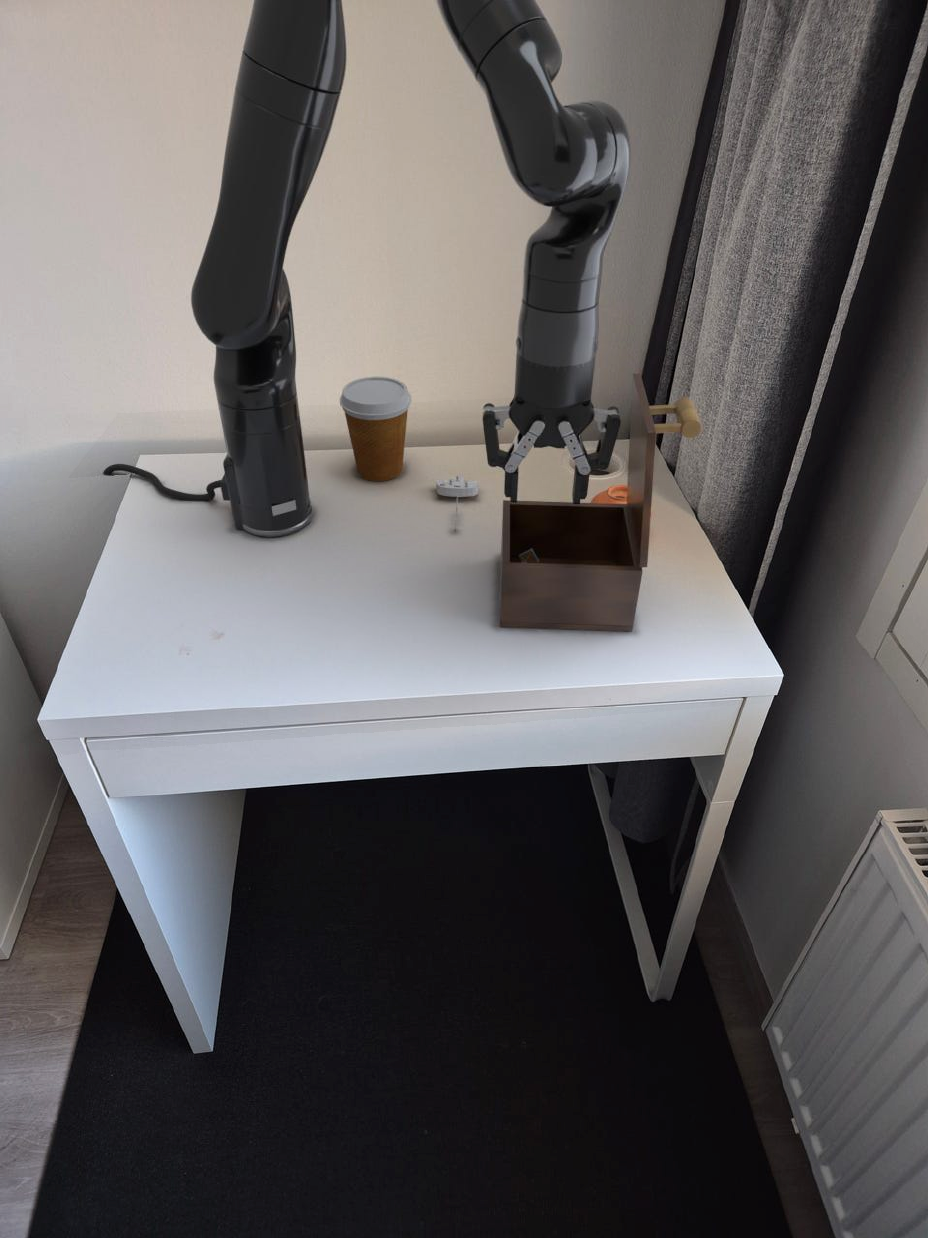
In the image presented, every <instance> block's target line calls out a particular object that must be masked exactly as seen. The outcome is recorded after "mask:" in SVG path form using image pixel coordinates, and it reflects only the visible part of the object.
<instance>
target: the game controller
mask: <svg viewBox="0 0 928 1238" xmlns="http://www.w3.org/2000/svg"><path fill="white" fill-rule="evenodd" d="M479 488H480V481H478V480H471V481H465V480H464V477H463V476H460V475H456V476H455V477H453V478H452V479H449V481H446V480H445V479H437V480H436V493H437V495H439V496H443V497H453V498H456V504H455V505H456V506H455V519H454V533H456V531H457V518H458V503H459V502H458V501H459V498H467V497H475V496H477V495H478V493H479V491H480V489H479Z"/></svg>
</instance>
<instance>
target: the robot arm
mask: <svg viewBox="0 0 928 1238" xmlns="http://www.w3.org/2000/svg"><path fill="white" fill-rule="evenodd" d="M435 2H436V5H437V8H438V11H439V14H440V17H441V19H442V22H443V24H444V26H445V28H446V31H447V32H448V35H449V37H450V38H451V41H452V42H453V45H454V46H455V47H456V49H457V51H458V53H459V54H460V56H461V57H462V59H463V61H464V63H465V64H466V66H467V68H468V69H469V71H470V73H471V74H472V76H473V78H474V79H475V81H476V82H477V83H476V84H478V86H479V88H480V89H481V91H482V93H484V95H485V97H486V101H487V104H488V109H489V112H490V117H491V120H492V125H493V127H494V130H495V132H496V136H497V139H498V142H499V147H500V149H501V152H502V155H503V159H504V162H505V164H506V166H507V169H508V172H509V174H510V176H511V178H512V180H513V181H514V183H515V184H516V186H517V187H518V188H519V189H520V191H522V193H523V194H524V195H525V196H526V197H527V198H529V199H530V200H531V201H533V202H534V203H536V204H537V205H540V206H542V207H548V208H550V212H549V214H548V217H547V218H546V219H545V221H544V222H543V223H542V224H541V226H539V227H538V228H537V229H535V231H533V232H532V233H531V234H530V236H529V237H528V239H527V241H526V243H525V248H524V254H523V255H524V256H523V271H522V289H521V290H522V291H521V304H520V308H519V309H520V310H519V315H518V322H517V334H516V335H517V337H516V340H515V344H516V346H515V347H516V354H515V372H514V373H515V375H514V395H513V398H512V400H511V401H510V403H509V405H501V406H495V405H494V404H493V403H491V402H487V403H485V404H484V405H483V407H482V425H483V434H484V444H485V452H486V460H487V464H488V466H489V467H491V468H496V467H499V468H501V469H502V470H503V471H504V485H503V487H504V488H503V490H504V491H503V493H504V496H505V498H510V502H512V503H517V501H518V491H519V490H518V489H519V473H520V472H519V466H520V465H521V463H522V461H523V460H524V459H525V458H526V457H527V456H528V454H529V453H530V451H531V450H532V448H533V449H542V448H549V447H551V448H555V449H563V450H564V449H566V448H567V450H568V452H569V454H570V457H571V458H572V460H573V461H574V472H573V482H572V494H571V497H572V502H573V504H580V503H581V500H586V498H587V496H588V493H589V492H588V491H589V482H590V475H591V473H592V472H594V471H596V470H600V471H605V470H607V469H608V468H609V466H610V463H611V459H612V457H613V452H614V449H615V445H616V442H617V437H618V435H619V431H620V427H621V424H622V421H621V416H620V411H619V408H618V407H617V406H615V405H612V406H608V408H606V409H604V408H598V407H597V408H596V407H595V406H594V404H593V403H592V394H593V383H594V375H595V365H596V357H597V351H598V348H599V330H600V329H599V328H600V327H599V326H600V315H599V306H600V305H599V302H600V292H601V284H602V275H603V266H604V265H603V264H604V255H605V251H606V247H607V245H608V242H609V239H610V237H611V234H612V232H613V228H614V225H615V222H616V219H617V216H618V212H619V209H620V206H621V203H622V200H623V196H624V193H625V190H626V186H627V182H628V179H629V178H628V177H629V173H630V166H631V156H632V155H631V140H630V138H631V137H630V133H629V130H628V126H627V123H626V121H625V119H624V117H623V115H622V113H620V111H619V110H618V109H617V108H616V107H615V106H613V105H612V104H611V103H609V102H606V101H602V100H599V99H596V100H595V99H591V100H585V101H580V102H576V103H571V104H567V105H563V104H562V103H561V102H560V100H559V99H558V96H557V95H556V92H555V90H554V87H553V84H552V83H553V82H554V81H555V79H556V77H557V76H558V74H559V73H560V70H561V67H562V63H563V52H562V48H561V45H560V42H559V40H558V38H557V36H556V33H555V31H554V30H553V28H552V26H551V24H550V23H549V21H548V19H547V17H546V16H545V14H544V13H543V11H542V9H541V7H540V6H539V4H538V2H537V0H435ZM246 30H247V31H246V35H245V39H244V42H243V47H242V52H241V56H240V60H239V66H238V72H237V76H236V81H235V87H234V92H233V98H232V105H231V111H230V117H229V123H228V128H227V129H228V130H227V137H226V143H225V150H224V157H223V164H222V165H223V166H222V172H221V182H220V189H219V196H218V201H217V206H216V210H215V215H214V218H213V221H212V225H211V229H210V233H209V235H208V239H207V242H206V245H205V248H204V251H203V254H202V257H201V259H200V260H201V261H200V263H199V266H198V268H197V271H196V275H195V277H194V280H193V283H192V286H191V291H190V292H191V293H190V303H191V309H192V313H193V317H194V321H195V322H196V325H197V326H198V328H199V330H200V331H201V333H202V334H203V335H204V337H205V338H206V339H207V340H208V341H209V342H211V343H212V344H213V345H214V346H215V360H214V368H213V385H214V389H215V390H214V391H215V396H216V402H217V406H218V410H219V412H218V413H219V417H220V422H221V428H222V434H223V438H224V444H225V449H226V450H225V451H226V455H225V457H224V459H223V462H222V465H223V472H224V474H223V476H222V478H221V479H219V480H214V481H212V482H210V483H208V485H207V486H206V488H205V490H206V493H204V494H202V493H201V494H197V493H196V494H193V493H187V492H182V491H178V490H175V489H171V488H168V487H166V486H165V485H164V484H163V483H162V482H161V480H160V479H159V478H158V477H157V476H156V475H155V474H154V473H152V472H151V471H148V470H145V469H143V468H139V467H137V466H135V465H130V464H125V463H115V464H110V465H109V466H107V467H106V468H105V469H104V470H103V472H102V475H103V476H110V475H111V474H112V473H114V472H118V471H119V472H121V471H122V472H126V473H130V474H134V475H137V476H140V477H142V478H145V479H147V480H149V481H151V483H152V484H153V485H154V487H155V488H156V489H157V490H158V491H159V492H160V493H161V494H163V495H165V496H168V497H171V498H174V499H179V500H181V501H189V502H191V501H192V502H208V501H211V500H213V499H214V498H215V497H216V492H215V490H217V489H218V488H219V489H220V490H221V496H222V500H223V501H225V502H227V501H228V502H229V504H230V506H231V513H232V519H233V523H234V528H235V529H237V530H243V531H245V532H246V533H249V534H251V535H255V536H259V537H266V538H270V537H271V538H272V537H281V536H286V535H290V534H293V533H296V532H298V531H300V530H302V529H303V528H305V527H306V526H307V525H308V524H309V523H310V522H311V520H312V518H313V508H312V501H311V496H310V488H309V487H310V486H309V480H308V471H307V465H306V455H305V447H304V439H303V431H302V424H301V423H302V422H301V413H300V405H299V397H298V391H297V381H296V368H297V348H296V347H297V346H296V337H295V335H296V334H295V325H294V313H293V305H292V296H291V288H290V285H289V280H288V277H287V274H286V271H285V269H284V263H285V259H286V254H287V248H288V245H289V241H290V236H291V234H292V230H293V226H294V225H295V221H296V219H297V217H298V214H299V213H300V209H301V208H302V205H303V204H304V201H305V199H306V197H307V194H308V192H309V190H310V188H311V185H312V182H313V180H314V179H315V175H316V173H317V171H318V168H319V165H320V163H321V160H322V157H323V155H324V152H325V149H326V146H327V143H328V140H329V138H330V134H331V130H332V128H333V124H334V120H335V116H336V112H337V109H338V105H339V102H340V97H341V93H342V91H343V86H344V82H345V77H346V70H347V60H348V59H347V55H348V51H347V37H346V25H345V17H344V8H343V0H253V3H252V9H251V14H250V17H249V23H248V27H247V29H246ZM509 419H510V421H511V422H512V423H513V425H514V427H515V428H516V429H517V430H518V431H517V432H516V434H515V436H514V438H513V441H512V442H511V444H510V446H509V447H508V449H507V451H506V450H503V449H501V448H500V441H499V432H498V430H502V429H503V428H504V426H505V421H506V420H509ZM592 422H596V427H597V431H598V432H600V434H599V437H598V442H597V444H596V448H595V451H594V452H591V453H588V451H587V449H586V447H585V445H584V442H583V438H582V436H581V434H583V432H584V431H585V430H586V429H587V428H588V427H589V426H590V424H592ZM565 447H566V448H565Z"/></svg>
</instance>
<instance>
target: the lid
mask: <svg viewBox="0 0 928 1238" xmlns="http://www.w3.org/2000/svg"><path fill="white" fill-rule="evenodd" d="M673 414H675V417H676V421H677V422H672V423H671V422H670V423H668V422H667V423H655V422H654V418H653V415H655V416H656V415H673ZM629 421H630V422H629V441H628V460H627V461H628V462H627V464H628V465H627V483H626V486H627V505H628V510H629V515H630V521H631V526H632V531H633V536H634V541H635V546H636V552H637V557H638V562H639V567H642V568H648V564H649V563H648V562H649V549H650V532H651V520H652V517H651V508H652V505H653V504H652V503H653V491H654V489H653V487H654V477H655V476H654V473H655V460H656V447H657V445H656V443H657V434H667V433H669V434H671V433H681V435H682V436H683V437H684V438H686V439H695V438H697V437H698V436H700V434H701V433H702V431H703V425H702V422H701V419H700V416H699V414H698V411H697V407H696V406H695V402H694V401H693V400H692V399H691V398H690V397H686V396H685V397H681V398H678V399H677V401H675V403H674V404H660V405H658V404H657V405H650V404H649V401H648V397H647V393H646V389H645V386H644V382H643V378H642V374H641V373H640V372H639V373H632V377H631V399H630V420H629Z"/></svg>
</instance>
